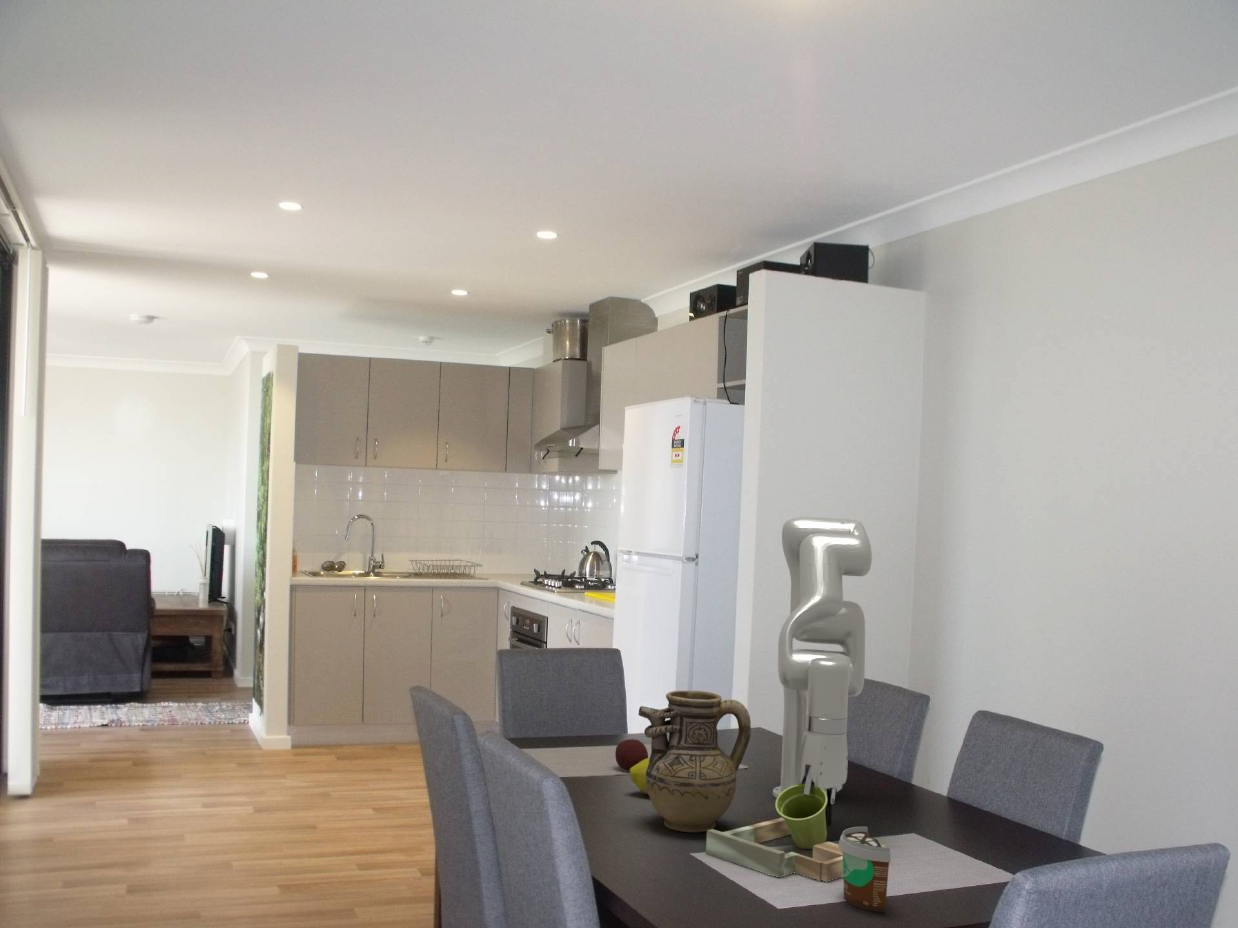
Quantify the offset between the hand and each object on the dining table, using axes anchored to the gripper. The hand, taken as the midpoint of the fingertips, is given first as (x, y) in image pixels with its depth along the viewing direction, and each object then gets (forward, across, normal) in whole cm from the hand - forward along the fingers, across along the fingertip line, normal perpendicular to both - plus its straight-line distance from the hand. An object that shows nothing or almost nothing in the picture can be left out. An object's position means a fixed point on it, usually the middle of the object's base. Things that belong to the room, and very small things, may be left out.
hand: (821, 824), depth 207 cm
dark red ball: (+4, -11, -60) cm, 61 cm away
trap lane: (+3, +10, +3) cm, 11 cm away
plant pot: (+2, +3, 0) cm, 4 cm away
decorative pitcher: (+4, +13, -21) cm, 25 cm away
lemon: (+4, +1, -41) cm, 41 cm away
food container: (+3, +21, +22) cm, 31 cm away
